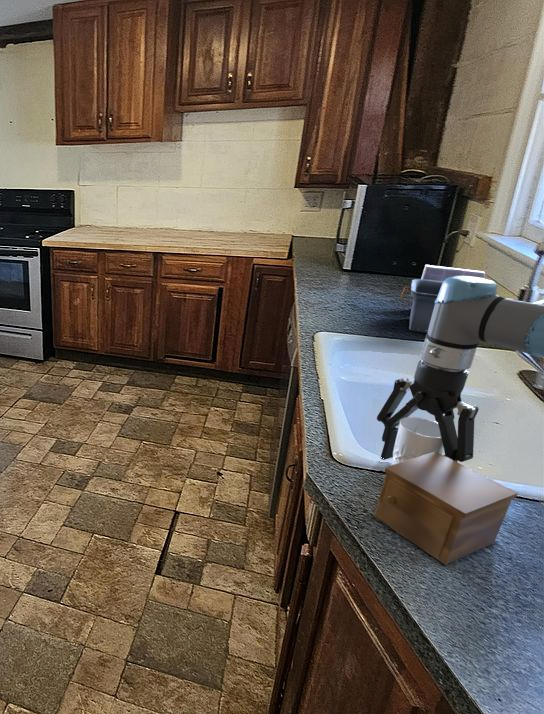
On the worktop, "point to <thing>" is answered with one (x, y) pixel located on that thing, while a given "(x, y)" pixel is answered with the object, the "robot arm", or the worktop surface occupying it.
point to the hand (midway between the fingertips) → (410, 471)
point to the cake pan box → (447, 273)
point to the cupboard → (442, 506)
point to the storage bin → (422, 303)
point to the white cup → (416, 439)
